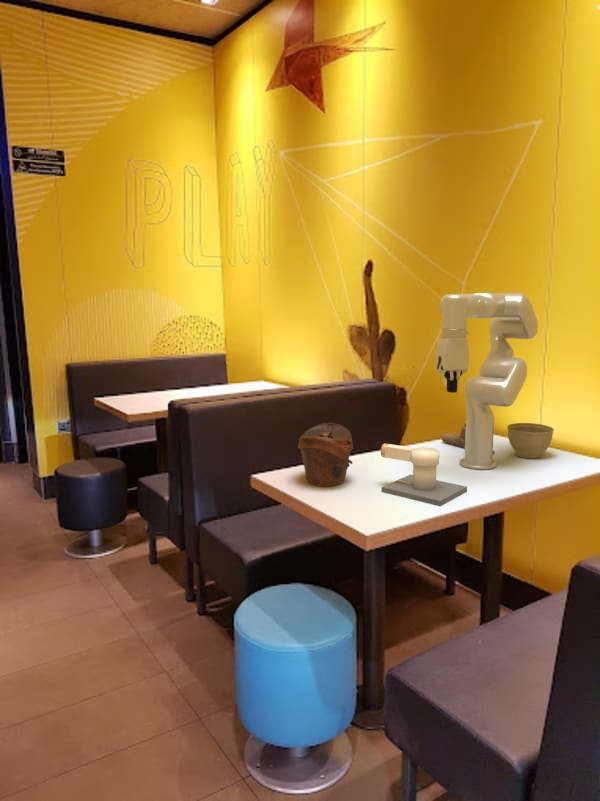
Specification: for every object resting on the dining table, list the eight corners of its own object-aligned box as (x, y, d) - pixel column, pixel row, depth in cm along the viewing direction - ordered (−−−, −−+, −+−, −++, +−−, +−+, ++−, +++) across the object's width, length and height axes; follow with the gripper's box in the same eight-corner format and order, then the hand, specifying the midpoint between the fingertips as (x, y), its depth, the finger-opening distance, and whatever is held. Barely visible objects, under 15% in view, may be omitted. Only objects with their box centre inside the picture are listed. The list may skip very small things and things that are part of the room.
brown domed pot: (312, 493, 182) (312, 436, 179) (289, 476, 200) (289, 423, 198) (364, 487, 189) (365, 431, 186) (336, 470, 207) (337, 420, 204)
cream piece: (443, 462, 183) (443, 448, 182) (432, 469, 176) (433, 454, 175) (389, 454, 193) (389, 440, 192) (377, 459, 186) (377, 446, 186)
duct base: (410, 478, 196) (410, 452, 195) (466, 491, 183) (468, 463, 182) (381, 491, 184) (381, 463, 182) (440, 506, 171) (441, 475, 169)
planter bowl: (497, 455, 224) (499, 427, 222) (519, 448, 235) (520, 421, 233) (539, 464, 212) (540, 434, 210) (559, 455, 223) (561, 427, 221)
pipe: (448, 441, 247) (449, 417, 245) (480, 449, 233) (481, 424, 232) (437, 443, 243) (438, 419, 242) (469, 451, 230) (470, 426, 228)
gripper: (465, 333, 193) (463, 388, 197) (427, 334, 187) (425, 392, 191) (480, 334, 187) (478, 392, 190) (441, 335, 181) (439, 395, 184)
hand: (451, 391), depth 190 cm, fingers closed
